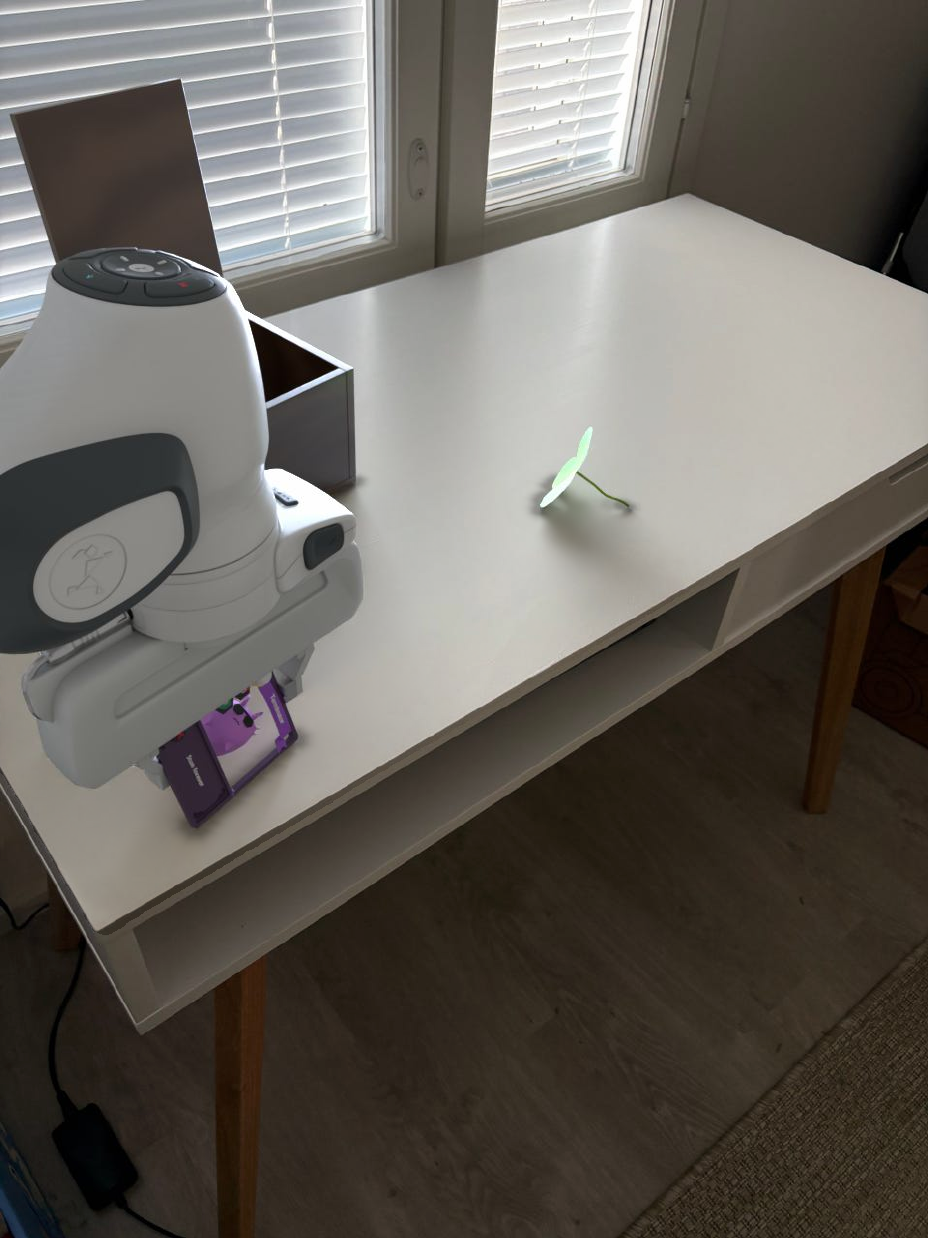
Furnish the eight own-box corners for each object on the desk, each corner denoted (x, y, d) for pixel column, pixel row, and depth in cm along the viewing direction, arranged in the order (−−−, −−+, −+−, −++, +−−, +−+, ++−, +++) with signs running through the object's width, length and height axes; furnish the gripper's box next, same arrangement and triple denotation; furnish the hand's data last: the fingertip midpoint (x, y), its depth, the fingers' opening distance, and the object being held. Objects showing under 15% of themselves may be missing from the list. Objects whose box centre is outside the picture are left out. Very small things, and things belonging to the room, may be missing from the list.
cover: (181, 78, 75) (175, 77, 76) (14, 114, 68) (8, 113, 68) (228, 295, 85) (222, 294, 86) (87, 349, 77) (81, 347, 78)
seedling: (584, 548, 89) (526, 506, 87) (633, 474, 89) (576, 430, 88) (615, 551, 82) (552, 504, 80) (668, 469, 82) (607, 421, 81)
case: (356, 481, 86) (353, 367, 79) (229, 553, 78) (213, 434, 71) (238, 410, 93) (226, 299, 86) (111, 469, 85) (85, 353, 78)
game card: (160, 746, 56) (273, 655, 61) (106, 725, 59) (218, 640, 64) (203, 834, 59) (307, 740, 65) (150, 810, 62) (253, 722, 68)
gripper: (50, 701, 45) (112, 871, 55) (378, 504, 56) (382, 673, 66) (-24, 632, 48) (48, 805, 58) (302, 458, 59) (317, 626, 69)
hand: (228, 733), depth 62 cm, fingers closed on game card, 8 cm apart
